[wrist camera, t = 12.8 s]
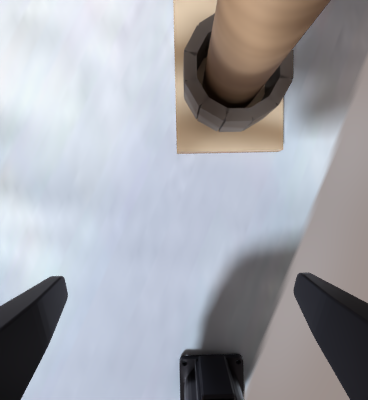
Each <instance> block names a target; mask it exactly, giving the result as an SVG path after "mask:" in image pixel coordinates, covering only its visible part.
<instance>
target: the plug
mask: <svg viewBox="0 0 368 400" xmlns="http://www.w3.org/2000/svg"><path fill="white" fill-rule="evenodd" d="M329 2H330V0H217V4H216V10H215V16H214V21H213V27H212V32H211V38H210V44H209V49H208V55H207V60H206V66H205V72H204V77H203V83H202V87H203V89H204V90H205V92H206V94H207V96H208V97H209V98H211V99H212V100H214V101H216V102H218V103H219V104H221V105H223V106H225V107H226V108H246V107H247V106H248V105H249V104H250V103H251V101H252V100H253V99H254V98H255V96H256V95H257V94H258V92H259V91H260V90H261V89H262V87H263V86H264V85H265V83H266V82H267V81H268V80H269V78H270V77H271V76H272V75H273V73H274V72H275V71H276V69H277V68H278V67H279V66H280V64H281V63H282V62H283V60H284V59H285V58H286V57H287V55H288V54H289V53H290V51H291V50H292V49H293V48H294V46H295V45H296V44H297V43H298V41H299V40H300V39H301V37H302V36H303V35H304V34H305V32H306V31H307V30H308V28H309V27H310V26H311V25H312V23H313V22H314V21H315V20H316V18H317V17H318V16H319V14H320V13H321V12H322V11H323V9H324V8H325V7H326V5H327V4H328V3H329Z"/></svg>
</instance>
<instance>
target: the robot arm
mask: <svg viewBox="0 0 368 400" xmlns="http://www.w3.org/2000/svg"><path fill="white" fill-rule="evenodd" d="M294 295H295V298H296V300H297V302H298V304H299V306H300V308H301V310H302V313H303V314H304V317H305V319H306V321H307V323H308V325H309V328H310V330H311V332H312V333H313V336H314V337H315V339H316V341H317V343H318V345H319V346H320V348H321V350H322V352H323V353H324V355H325V357H326V359H327V360H328V362H329V364H330V365H331V367H332V369H333V371H334V372H335V374H336V376H337V378H338V379H339V381H340V383H341V384H342V386H343V388H344V390H345V391H346V393H347V395H348V396H349V398H350V400H368V303H366V302H364V301H362V300H360V299H358V298H357V297H354V296H353V295H351V294H349V293H347V292H345V291H343V290H341V289H340V288H338V287H336V286H334V285H332V284H330V283H328V282H326V281H324V280H322V279H320V278H318V277H317V276H315V275H313V274H311V273H299V274H298V275H297V278H296V282H295V286H294ZM67 297H68V293H67V288H66V283H65V279H64V277H63V276H51V277H49V278H47V279H46V280H44V281H42V282H41V283H39V284H37V285H36V286H34V287H32V288H30V289H29V290H27V291H25V292H24V293H22V294H20V295H19V296H17V297H15V298H14V299H12V300H10V301H8V302H7V303H5V304H3V305H2V306H0V400H21V398H22V396H23V394H24V392H25V390H26V388H27V386H28V384H29V382H30V380H31V378H32V377H33V375H34V373H35V371H36V369H37V367H38V365H39V363H40V361H41V359H42V357H43V355H44V353H45V351H46V349H47V347H48V345H49V343H50V340H51V338H52V336H53V333H54V331H55V328H56V326H57V323H58V321H59V318H60V316H61V313H62V311H63V308H64V306H65V303H66V301H67ZM237 360H239V361H237ZM184 361H185V363H183V362H184ZM180 400H244V398H243V359H242V357H241V355H239V354H228V355H193V356H182V357H181V358H180Z"/></svg>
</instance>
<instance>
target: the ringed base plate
mask: <svg viewBox="0 0 368 400" xmlns="http://www.w3.org/2000/svg"><path fill="white" fill-rule="evenodd" d="M173 3H174V46H175V88H176V131H177V154H190V153H239V152H279V151H281V150H283V97H284V95H285V93H286V91H287V89H288V88H289V86H290V84H291V82H292V81H293V80H292V79H293V50H291V51H290V53H289V54H288V55H287V57H286V58H285V59H284V60H283V62H282V63H281V64H280V66H279V67H278V68H277V69H276V71H275V72H274V73H273V75H272V76H271V77H270V78H269V80H268V81H267V82H266V83H265V85H264V86H263V87H262V89H261V90H260V91H259V92H258V94H257V95H256V96H255V98H254V99H253V100H252V101H251V103H250V104H249V105H248V106H247V107H246V108H226V107H225V106H223V105H221V104H219V103H218V102H216V101H214V100H212V99H211V98H209V97H208V96H207V94H206V92H205V90H204V89H203V87H202V83H203V77H204V72H205V66H206V60H207V55H208V49H209V44H210V38H211V32H212V27H213V21H214V16H215V10H216V4H217V0H173Z"/></svg>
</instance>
